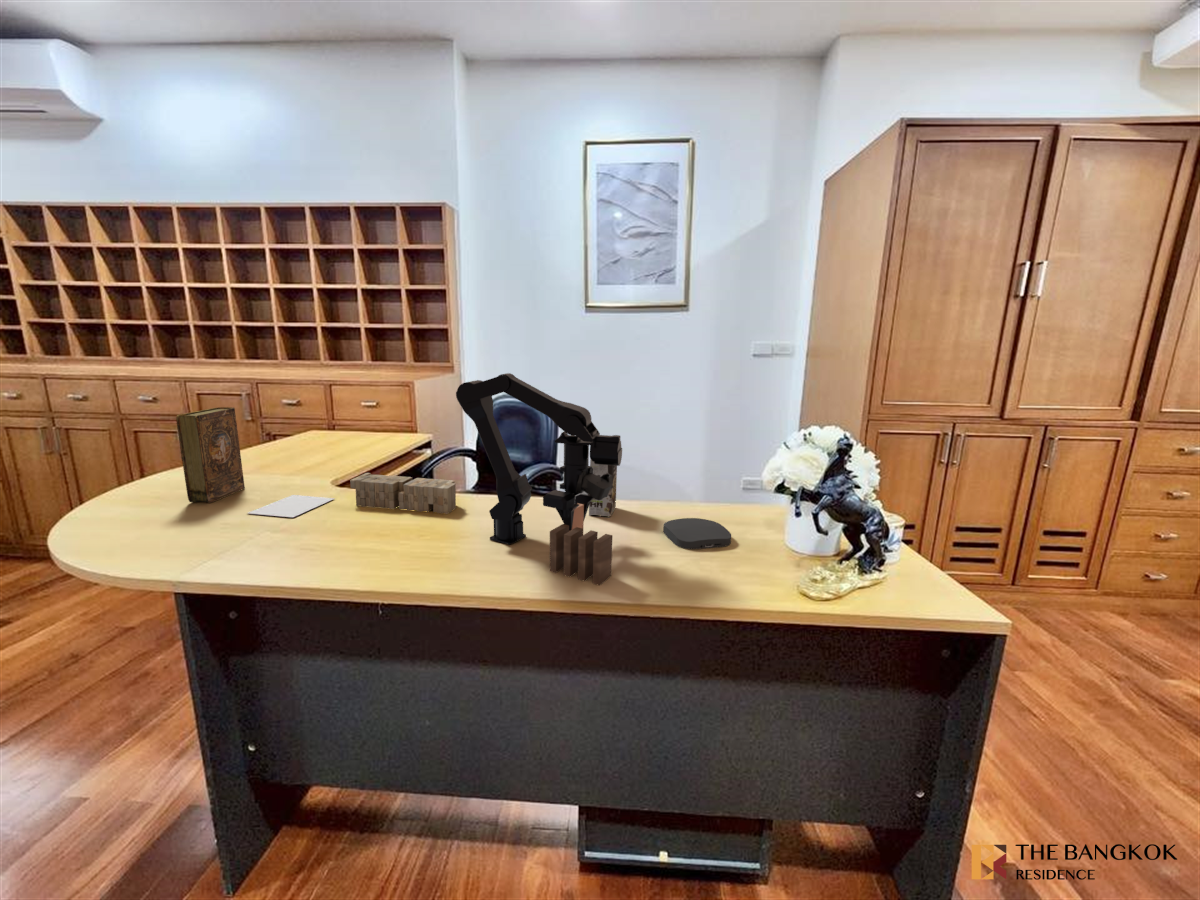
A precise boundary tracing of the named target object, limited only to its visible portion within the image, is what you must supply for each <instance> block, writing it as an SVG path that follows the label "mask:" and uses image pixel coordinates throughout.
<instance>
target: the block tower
mask: <svg viewBox="0 0 1200 900" xmlns="http://www.w3.org/2000/svg"><path fill="white" fill-rule="evenodd" d="M349 481H350V482H349V483H350V489H354V490H355V503H356V504H355V506H358V507H364V508H365V507H367V508H373V509H374V508H378V509H388V508H389V510H395V509H397V508H398V510H399V509H407V510H406V511H410V510H417V511H416V512H422V511H427V512H426V513H429V512H431V511H432V512H433V513H434V512H437V513H436V514H443V513H445V514H446V515H448V513H449V514H450V513H451V512H453V511H454V510H455V509H457V508H456V507H457V502H456V501H457V500H456V499H457V498H456V494H457V491H456V488H457V487H456V481H455V480H452V479H450V480H449V479H448V480H447V479H440V478H438V479H437V478H436V479H435V478H424V477H416V478H414V479H413V476H412V477H411V476H401V475H399V476H398V475H385V474H384V475H383V474H372V473H371V472H365V473H363V474H360V475H359V476H357V477H353V478H352V479H350V480H349ZM398 506H399V507H398ZM396 507H397V508H396ZM430 510H431V511H430ZM452 510H453V511H452ZM428 511H429V512H428Z"/></svg>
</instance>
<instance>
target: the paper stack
mask: <svg viewBox="0 0 1200 900" xmlns="http://www.w3.org/2000/svg"><path fill="white" fill-rule="evenodd" d="M335 499H336V498H334V497H323V496H322V497H321V496H313V495H312V496H309V495H299V494H291V495H289V496H286V497H283V498H281V499H279V500H276V501H274V502H271V503H269V504H267V505H263V506H261V507H259V508H257V509H253V510H251V511H248V512H247V514H250V515H261V516H271V517H272V516H275V517H283V518H285V517H286V518H295V517H298V516H299V515H303V514H304V513H306V512H308V511H311V510H313V509H315V508H317V507H319V506H322V505H323V504H326V503H328V502H330V501H332V500H335Z"/></svg>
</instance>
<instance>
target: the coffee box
mask: <svg viewBox="0 0 1200 900" xmlns="http://www.w3.org/2000/svg"><path fill="white" fill-rule="evenodd" d="M589 460H590V461H589V466H592V468H593V474H595V475H597V476H598V475H600V477H601V476H602V475H604V474H606V473H609V474H610V475H612V480H613V488H612V489H610V491H609V493H608V496H607V497H605V498H603V499H602V500H596V499H593V500H592V501H591V502H590V505H589V507H588V516H591V515H601V516H612V515H613V513H614V511H615V509H616V508H615V507H617V506H616V505H617V480H618V479H617V477H618V473H617V472H618V466H614V465H601V464H595V463H594V462H593V461H592V459H590V458H589ZM615 501H616V502H615ZM613 510H614V511H613ZM612 512H613V513H612ZM611 514H612V515H611ZM601 516H600V517H601Z"/></svg>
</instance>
